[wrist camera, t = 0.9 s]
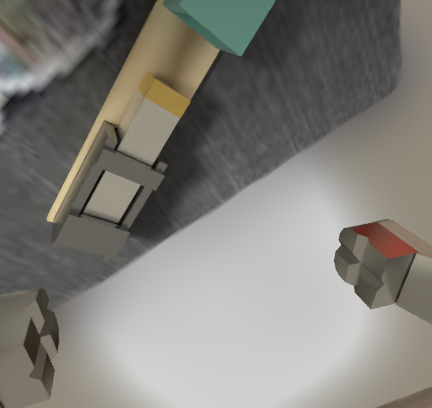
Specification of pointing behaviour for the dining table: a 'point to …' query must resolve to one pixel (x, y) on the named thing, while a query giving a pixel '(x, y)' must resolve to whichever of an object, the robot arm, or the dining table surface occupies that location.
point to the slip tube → (137, 144)
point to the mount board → (157, 65)
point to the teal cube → (222, 20)
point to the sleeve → (81, 187)
